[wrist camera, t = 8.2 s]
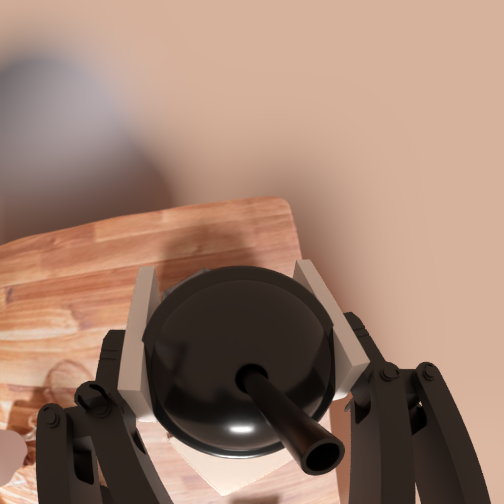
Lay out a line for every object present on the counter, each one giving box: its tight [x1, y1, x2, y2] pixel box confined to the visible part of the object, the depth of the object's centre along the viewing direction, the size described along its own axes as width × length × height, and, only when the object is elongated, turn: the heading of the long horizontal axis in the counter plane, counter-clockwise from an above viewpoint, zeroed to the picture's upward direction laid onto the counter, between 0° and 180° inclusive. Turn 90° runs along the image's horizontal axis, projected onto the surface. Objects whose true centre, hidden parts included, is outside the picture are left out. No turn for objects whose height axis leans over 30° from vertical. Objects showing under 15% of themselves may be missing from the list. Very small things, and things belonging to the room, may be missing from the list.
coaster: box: [167, 436, 294, 496], centre depth 31 cm, size 14×14×1 cm
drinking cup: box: [142, 266, 345, 476], centre depth 12 cm, size 8×8×20 cm
